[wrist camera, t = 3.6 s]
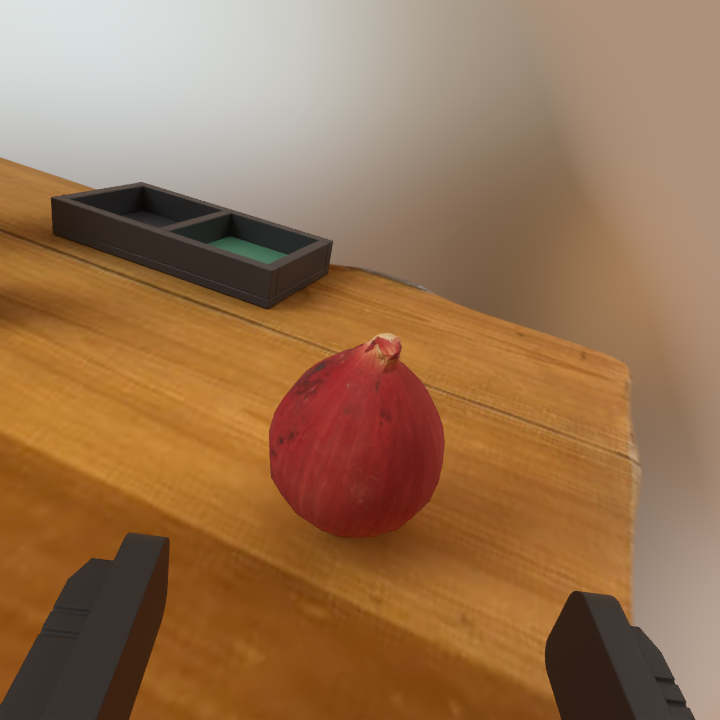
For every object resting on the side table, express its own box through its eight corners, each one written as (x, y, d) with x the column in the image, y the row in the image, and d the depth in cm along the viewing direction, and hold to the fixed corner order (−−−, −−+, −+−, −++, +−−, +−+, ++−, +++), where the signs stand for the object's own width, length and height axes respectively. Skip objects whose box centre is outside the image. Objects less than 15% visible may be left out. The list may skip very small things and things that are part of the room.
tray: (141, 213, 49) (141, 181, 48) (327, 273, 45) (333, 240, 44) (52, 233, 41) (50, 196, 40) (267, 309, 37) (272, 270, 36)
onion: (229, 557, 19) (254, 342, 16) (290, 459, 24) (321, 279, 21) (399, 617, 18) (468, 405, 15) (426, 502, 24) (483, 323, 20)
